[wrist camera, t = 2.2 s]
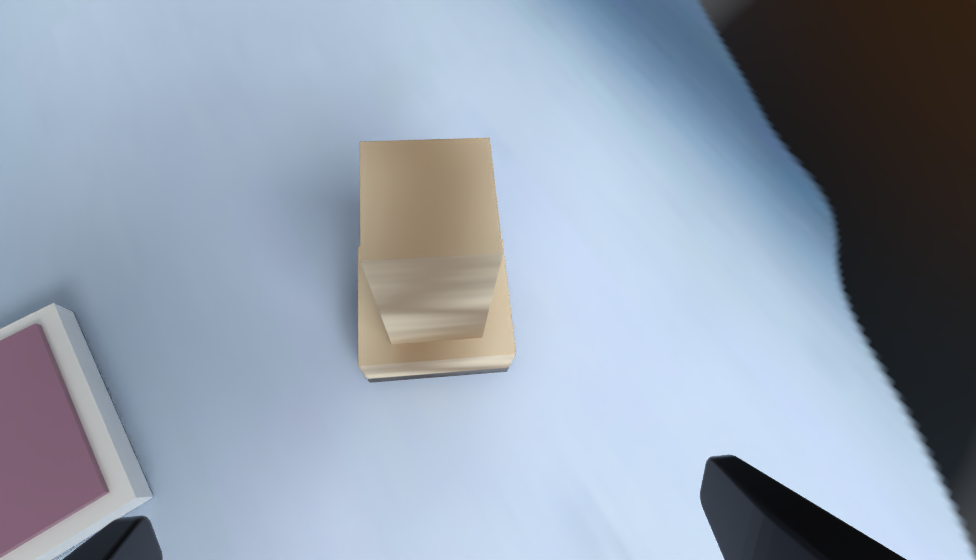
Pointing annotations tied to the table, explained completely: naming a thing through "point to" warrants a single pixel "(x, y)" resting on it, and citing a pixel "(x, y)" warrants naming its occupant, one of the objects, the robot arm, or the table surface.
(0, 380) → the ink pad
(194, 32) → the table surface
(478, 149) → the stamp
